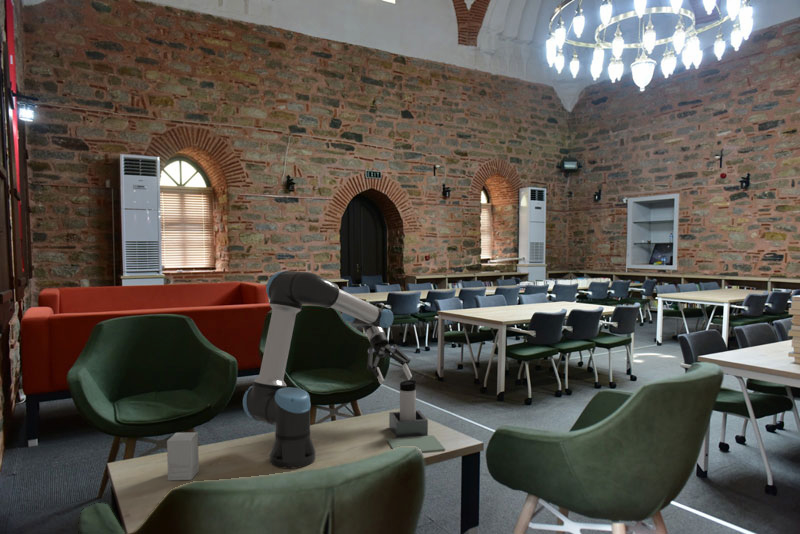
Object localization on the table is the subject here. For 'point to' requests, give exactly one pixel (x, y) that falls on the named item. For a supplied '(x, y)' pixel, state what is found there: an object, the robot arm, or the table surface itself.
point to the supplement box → (182, 456)
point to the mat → (418, 443)
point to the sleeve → (408, 425)
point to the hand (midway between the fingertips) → (396, 380)
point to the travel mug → (408, 400)
